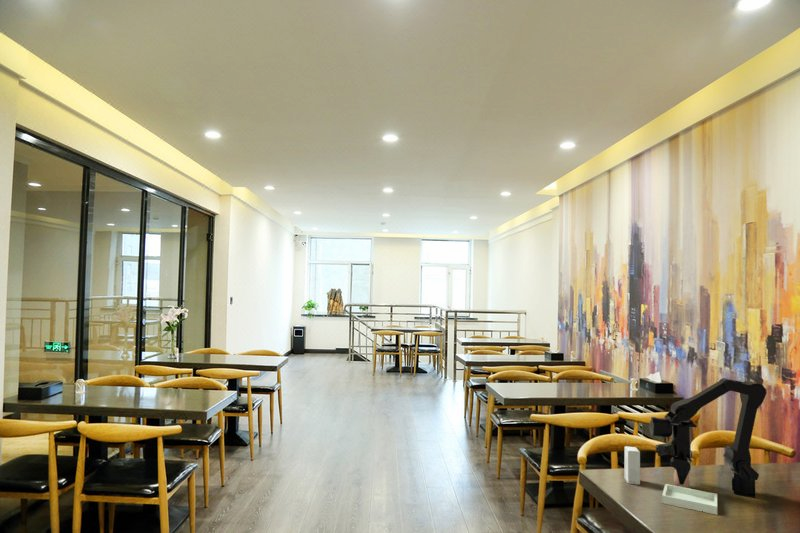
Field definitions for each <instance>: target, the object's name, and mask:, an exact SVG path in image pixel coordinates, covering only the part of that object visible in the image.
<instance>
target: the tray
mask: <svg viewBox="0 0 800 533" xmlns="http://www.w3.org/2000/svg"><path fill="white" fill-rule="evenodd" d="M661 503H662V504H665V505H670V506H674V507H679V508H684V509H688V510H692V511H693V510H694V511H698V512H702V511H703V512H702V513H707V514H712V515H718V493H716V492H715V493H714V492H709V491H704V490H700V489H694V488H690V489H689V488H684V487H679V486H674V484H668V483H664V487H663V491H662V495H661Z"/></svg>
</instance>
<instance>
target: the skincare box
mask: <svg viewBox="0 0 800 533" xmlns="http://www.w3.org/2000/svg"><path fill="white" fill-rule="evenodd" d="M623 475H624V476H623V477H624V480H625V481H626V483H627V484H630V485H638V486H639V485H641V452H640V450H639V449H638V448H637V446H636V447H635V446H627V445H625V446H624V474H623Z"/></svg>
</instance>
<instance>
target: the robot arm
mask: <svg viewBox="0 0 800 533" xmlns="http://www.w3.org/2000/svg"><path fill="white" fill-rule="evenodd" d="M729 392H734V393H739V399H740V402H741V403H740V404H741V408H740V412H739V417H738V421H737V425H736V430H735V435H734V440H733V443H732V444H731V445H730V446H728V445H725V448H724V450H725V452H724V454H723V456H722V457H724V462H725V463H726V465H727V466H728V467H729V468H730V470H731V471H732V474H733V476H731V491H733V494H734V495H739V496H743V497H749V498H754V499H756V498H757V494H756V481H757V480H758V478H760V477H759V476H760V474H759V473H758V472H757V471H756V470H755V469H754V468H753V467H752V456H751V452H750V446H751V441H752V436H753V430H754V426H755V422H756V418H757V417H756V416H757V412H758V409H759V408H760V406H762V404H763V403H764V400H765V398H766V396H767V389H766V387H765V386H764V385H763V384H761V383H758V382H756V381H752V380H745V381H739V380H734V379H729V378H726V377H722V378H720V380H718V381H716V382H715V383H713V384H712V385H710V386H708V387H707V388H705V389H703V390H702V391H700V392H698V393H697V394H695V395H693V396H691V397H687V398H684V399H680V400H678V401H675V402H673V403H672V404H671V405H670V409H669V411H668V412H667V413H666V415H665V416H664V417H656V416H651V417H650V421H649V425H648V428H649V430H648V431H649V435H650V436H651V437H659V438H660V437H661V438H669V437H671V436H672V439H671V442H665V443H660V444H659V443H658V444H656V445H655V446H654V448H655V452H656V454H657V456H658V457H662V456H666V455H671V458H670V461H669V463H670V464H669V465H670V466H669V467H671V468H673V469H674V468H675V469H676V471H677V475H678V479H679V483H680V484H681V485H683V484H684V482H685V480H686V477H687V475H688V473H689V471H690V472H691V469H692V461H693V460H692V459H693V451H692V449H691V447H692V446H691V444H692V442H691V441H692V440H691V428H698V426H697V424H695V423H694V421H693V420H692V419H693V417H695V416H696V415H697V413H698V412H699V411H700V410H701V409H702V408H703V407H705V406H706V405H708V404H710V403H712V402H713V401H716V400H718V399H719V398H721V397H722V396H723V395H725V394H727V393H729Z"/></svg>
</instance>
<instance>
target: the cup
mask: <svg viewBox="0 0 800 533" xmlns="http://www.w3.org/2000/svg"><path fill="white" fill-rule="evenodd" d="M690 472H691V470H690V471H689V473H688V475H687V477H686V480H685V482H684V484H683V485H681V484H680V483H679V479H678V475H677V471H676V469H675V468H674V467H673V485H674V486H679V487H684V488H689V489H691V474H690Z"/></svg>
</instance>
